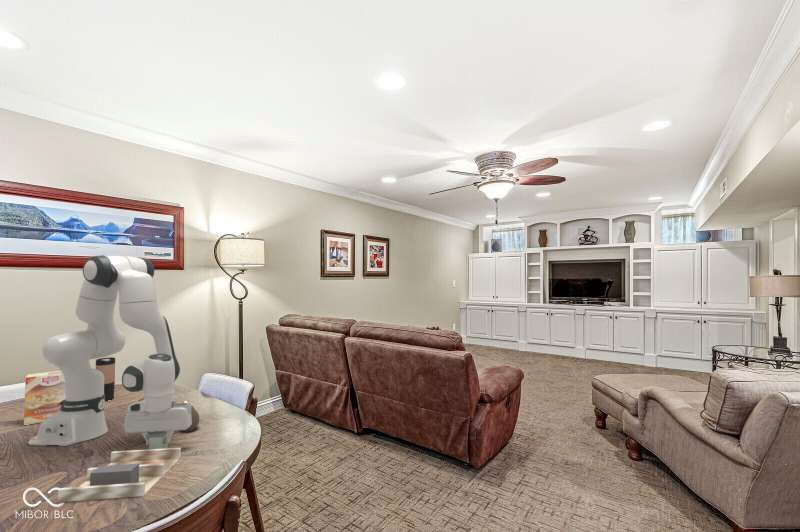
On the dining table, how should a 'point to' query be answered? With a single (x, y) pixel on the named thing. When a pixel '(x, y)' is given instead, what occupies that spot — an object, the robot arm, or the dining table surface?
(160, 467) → the rack
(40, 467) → the dining table surface
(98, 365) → the travel mug
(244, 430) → the dining table surface
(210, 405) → the dining table surface
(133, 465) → the charcoal block
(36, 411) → the coffeecake box
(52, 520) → the dining table surface
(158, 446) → the grey rectangular block
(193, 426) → the vase
